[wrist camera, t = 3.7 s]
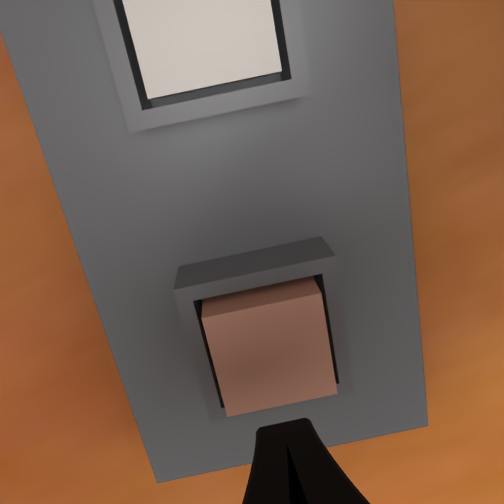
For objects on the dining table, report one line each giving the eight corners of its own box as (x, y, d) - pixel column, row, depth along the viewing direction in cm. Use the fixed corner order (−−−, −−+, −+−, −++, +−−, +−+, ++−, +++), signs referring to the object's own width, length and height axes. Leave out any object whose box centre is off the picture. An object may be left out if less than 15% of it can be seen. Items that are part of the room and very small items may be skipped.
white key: (251, -67, 15) (255, -89, 13) (274, 74, 17) (282, 70, 15) (120, -39, 15) (107, -59, 13) (156, 98, 17) (147, 99, 15)
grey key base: (353, -274, 15) (397, -396, 11) (416, 406, 24) (452, 463, 21) (-57, -189, 15) (-148, -283, 11) (160, 460, 24) (150, 527, 21)
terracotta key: (310, 272, 18) (321, 292, 16) (326, 365, 20) (337, 393, 18) (203, 295, 18) (201, 318, 16) (226, 386, 20) (227, 417, 18)
